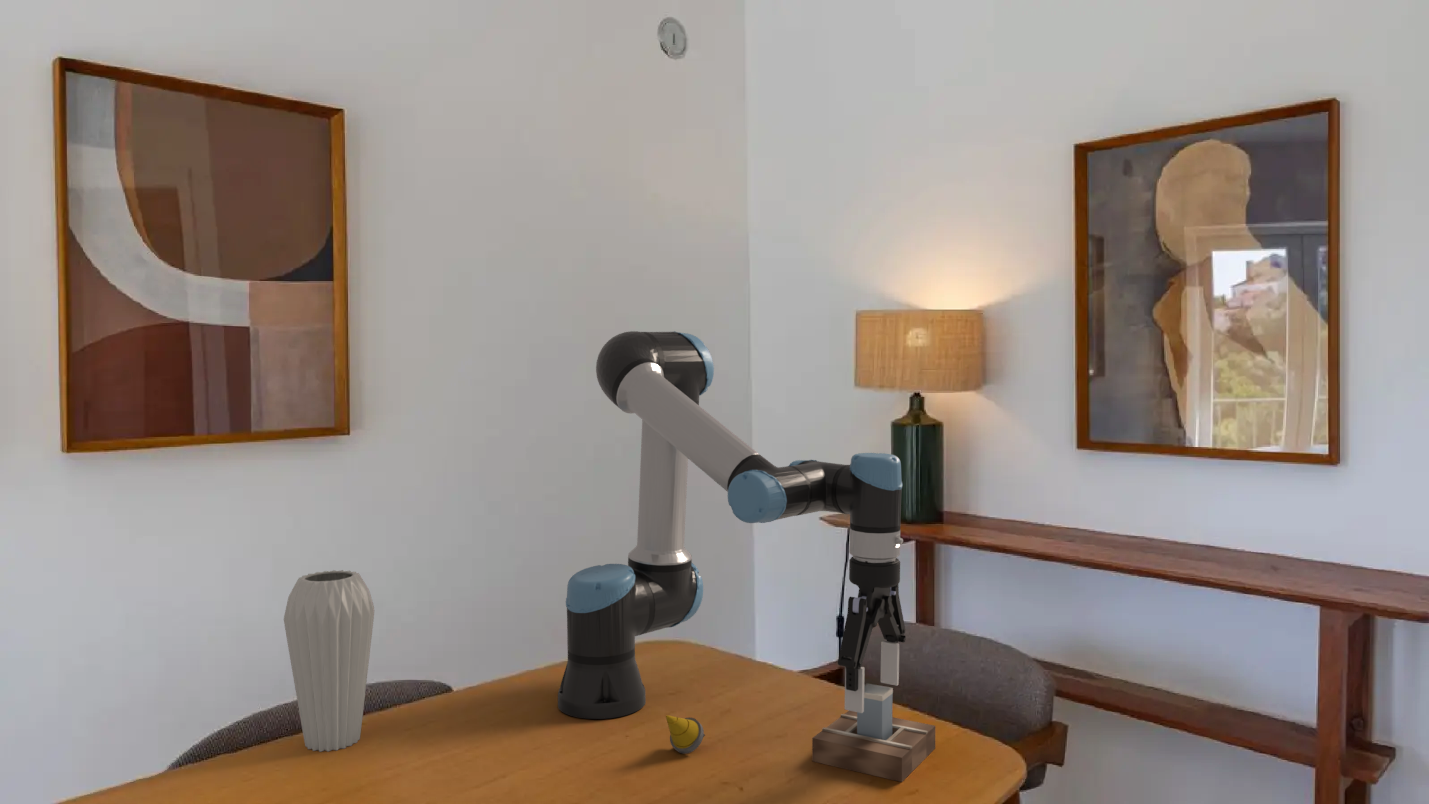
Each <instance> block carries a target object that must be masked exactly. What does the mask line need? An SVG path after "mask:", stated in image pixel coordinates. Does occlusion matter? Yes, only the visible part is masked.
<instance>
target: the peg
mask: <svg viewBox="0 0 1429 804" xmlns="http://www.w3.org/2000/svg"><path fill="white" fill-rule="evenodd" d="M893 689H894V688H893V687H889V686H883V685H877V684H872V683H866V684H864V712H863V713H859V712H857V734H858V735H863V736H867V737H872V738H877V739H881V740H887V739H888V738H889V737H890V736H892V717H893V693H894V690H893Z"/></svg>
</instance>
